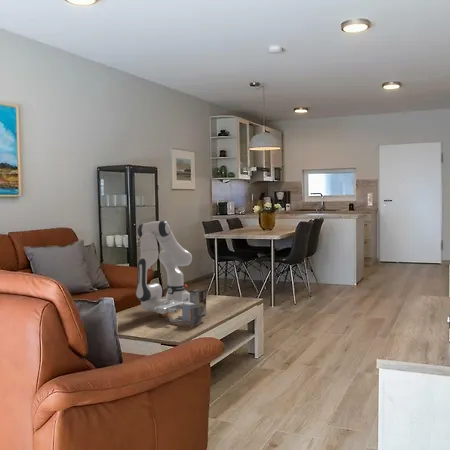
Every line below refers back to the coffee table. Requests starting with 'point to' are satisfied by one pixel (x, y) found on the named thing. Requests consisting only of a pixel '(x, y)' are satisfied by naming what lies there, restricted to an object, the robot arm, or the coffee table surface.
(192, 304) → the block
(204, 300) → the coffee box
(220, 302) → the coffee table surface
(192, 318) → the rail dock
